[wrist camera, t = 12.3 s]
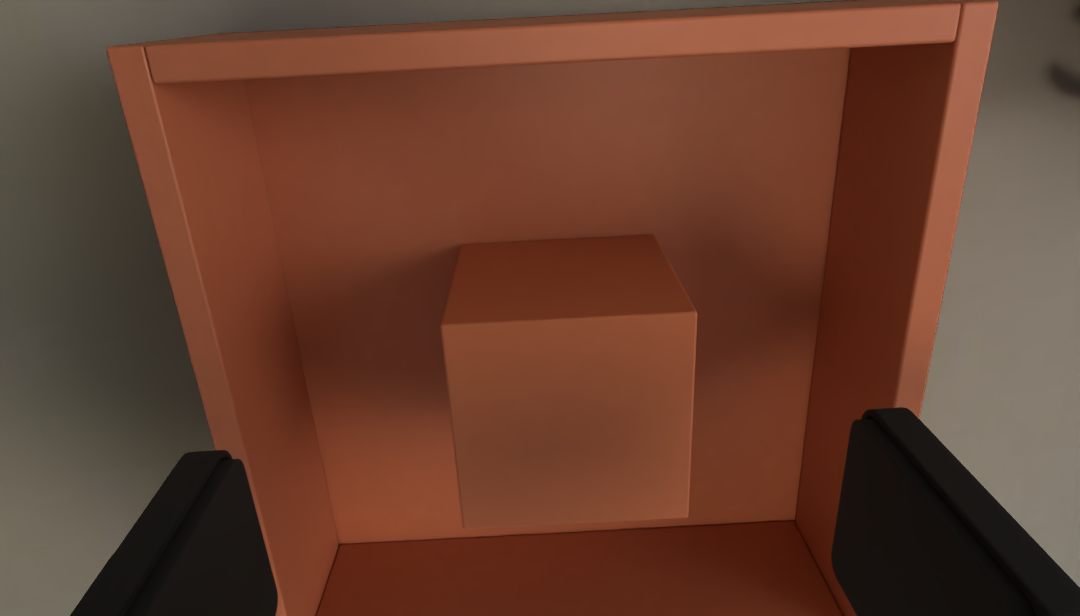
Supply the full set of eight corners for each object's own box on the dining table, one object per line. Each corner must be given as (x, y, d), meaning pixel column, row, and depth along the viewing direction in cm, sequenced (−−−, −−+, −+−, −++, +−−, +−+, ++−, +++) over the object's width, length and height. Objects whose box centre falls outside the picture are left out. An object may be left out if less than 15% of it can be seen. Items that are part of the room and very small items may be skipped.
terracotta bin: (327, 546, 21) (278, 682, 17) (218, 33, 16) (104, 47, 11) (805, 520, 21) (875, 651, 17) (871, -1, 16) (1001, 0, 11)
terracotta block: (476, 410, 19) (462, 531, 15) (460, 243, 17) (439, 325, 13) (651, 401, 19) (689, 519, 15) (654, 233, 17) (698, 311, 13)
